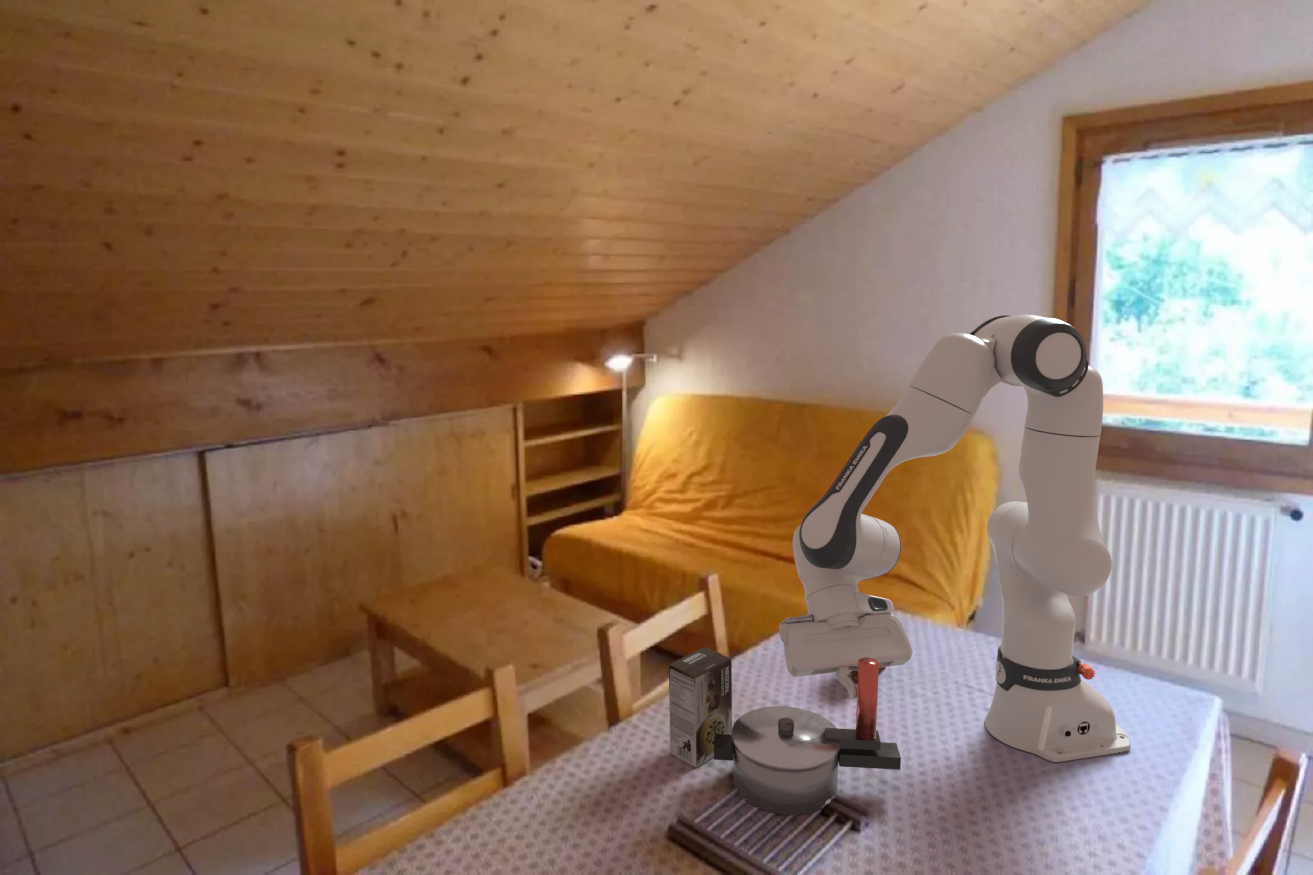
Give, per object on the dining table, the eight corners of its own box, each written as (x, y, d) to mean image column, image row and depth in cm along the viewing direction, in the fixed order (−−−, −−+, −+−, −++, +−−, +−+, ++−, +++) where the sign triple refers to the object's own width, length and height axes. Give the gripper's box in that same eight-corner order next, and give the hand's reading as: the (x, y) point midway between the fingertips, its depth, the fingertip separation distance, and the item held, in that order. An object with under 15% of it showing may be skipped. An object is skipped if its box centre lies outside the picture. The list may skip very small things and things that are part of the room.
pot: (712, 810, 122) (712, 767, 121) (716, 749, 138) (716, 711, 136) (906, 822, 119) (908, 778, 117) (888, 758, 134) (890, 719, 133)
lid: (730, 767, 120) (730, 682, 117) (733, 709, 136) (734, 633, 134) (887, 777, 117) (891, 689, 115) (871, 716, 134) (874, 638, 131)
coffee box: (704, 732, 143) (704, 645, 140) (733, 746, 139) (733, 657, 135) (667, 753, 137) (667, 663, 134) (696, 769, 132) (696, 676, 129)
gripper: (781, 611, 130) (802, 698, 122) (900, 599, 134) (929, 683, 126) (771, 626, 135) (791, 711, 127) (886, 614, 139) (912, 696, 131)
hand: (860, 697), depth 127 cm, fingers closed
